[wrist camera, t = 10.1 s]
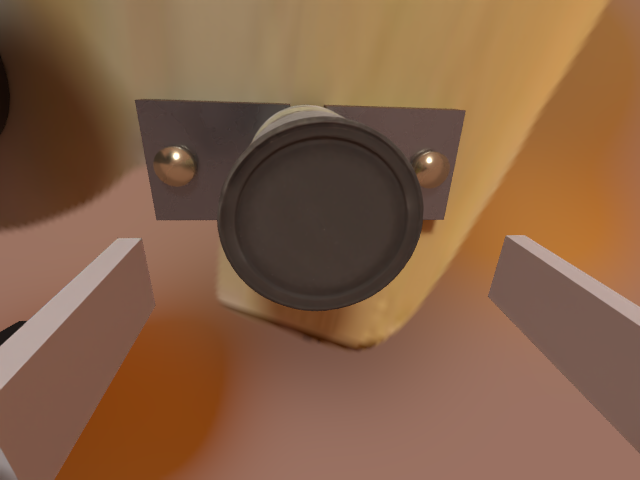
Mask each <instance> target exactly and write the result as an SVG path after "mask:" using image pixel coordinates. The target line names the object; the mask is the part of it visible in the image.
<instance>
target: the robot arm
mask: <svg viewBox="0 0 640 480" xmlns="http://www.w3.org/2000/svg"><path fill="white" fill-rule="evenodd" d="M8 110H9V88H8V81H7V76H6V72H5V69H4V66H3V63H2V60H1V57H0V134H1V132H2V130H3V128H4V125H5V123H6V119H7V115H8ZM488 297H489V298H490V299H491V300H492V301H493V302H494V303H495V304H496V305H497V306H498V307H499V308H500V310H501V311H502V312H503V313H504V314H505V315H506V316H507V317H508V318H509V319H510V320H511V321H512V322H513V323H514V324H515V325H516V326H517V327H518V328H519V329H520V330H521V331H522V332H523V333H524V334H525V335H526V336H527V337H528V338H529V339H530V340H531V342H532V343H533V344H534V345H535V346H536V347H537V348H538V349H539V350H540V351H541V352H542V353H543V354H544V355H545V356H546V357H547V358H548V359H549V360H550V361H551V362H552V363H553V364H554V365H555V366H556V367H557V368H558V369H559V370H560V372H561V373H562V374H563V375H564V376H565V377H566V378H567V379H568V380H569V381H570V382H571V383H572V384H573V385H574V386H575V387H576V388H577V389H578V390H579V391H580V392H581V393H582V394H583V395H584V396H585V397H586V398H587V399H588V400H589V402H590V403H591V404H592V405H593V406H594V407H595V408H596V409H597V410H598V411H599V412H600V413H601V414H602V415H603V416H604V417H605V418H606V419H607V420H608V421H609V422H610V423H611V424H612V425H613V426H614V427H615V428H616V429H617V430H618V431H619V432H620V433H621V435H623V437H624V438H625V439H626V440H627V441H628V442H629V443H630V444H631V445H632V446H633V447H634V448H635V449H636V450H637V451H638V452H639V453H640V307H639V306H637V305H636V304H634V303H632V302H631V301H629V300H628V299H626V298H624V297H623V296H621V295H620V294H618V293H616V292H615V291H613V290H612V289H610V288H608V287H607V286H605V285H603V284H602V283H600V282H599V281H597V280H595V279H594V278H592V277H591V276H589V275H587V274H586V273H584V272H583V271H581V270H579V269H578V268H576V267H575V266H573V265H571V264H570V263H568V262H566V261H565V260H563V259H562V258H560V257H559V256H557V255H555V254H554V253H552V252H551V251H549V250H547V249H546V248H544V247H542V246H541V245H539V244H538V243H536V242H534V241H533V240H531V239H530V238H528V237H526V236H524V235H521V236H519V235H518V236H506V237H505V240H504V244H503V247H502V250H501V254H500V257H499V261H498V264H497V267H496V271H495V275H494V278H493V281H492V284H491V288H490V291H489V295H488ZM154 307H155V301H154V296H153V291H152V286H151V281H150V276H149V271H148V266H147V261H146V257H145V252H144V247H143V242H142V238H117V239H116V240H115V241H114V242H113V243H112V244H111V245H110V246H109V247H108V248H107V249H106V250H104V251H103V252H102V253H101V254H100V255H99V256H98V257H97V258H96V259H95V260H94V261H92V262H91V263H90V264H89V265H88V266H87V267H86V268H85V269H84V270H83V271H82V272H80V273H79V274H78V275H77V276H76V277H75V278H74V279H73V280H72V281H71V282H70V283H68V284H67V285H66V286H65V287H64V288H63V289H62V290H61V291H60V292H59V293H58V294H57V295H56V296H54V297H53V298H52V299H51V300H50V301H49V302H48V303H47V304H46V305H45V306H44V307H42V308H41V309H40V310H39V311H38V312H37V313H36V314H35V315H34V316H33V317H32V318H30V319H29V320H28V321H19V322H17V323H15V324H14V325H12V326H10V327H8V328H6V329H5V330H3V331H1V332H0V480H54V479H55V477H56V475H57V474H58V472H59V470H60V469H61V467H62V465H63V463H64V461H65V460H66V458H67V456H68V455H69V453H70V451H71V450H72V448H73V446H74V445H75V443H76V441H77V439H78V438H79V436H80V434H81V432H82V431H83V429H84V427H85V425H86V424H87V422H88V421H89V419H90V417H91V415H92V414H93V412H94V410H95V409H96V407H97V405H98V403H99V402H100V400H101V398H102V396H103V395H104V393H105V391H106V389H107V388H108V386H109V384H110V383H111V381H112V379H113V378H114V376H115V374H116V372H117V371H118V369H119V367H120V365H121V364H122V362H123V361H124V359H125V357H126V355H127V353H128V352H129V350H130V348H131V347H132V345H133V343H134V342H135V340H136V338H137V336H138V335H139V333H140V331H141V329H142V328H143V326H144V324H145V323H146V321H147V319H148V318H149V316H150V314H151V312H152V311H153V309H154Z"/></svg>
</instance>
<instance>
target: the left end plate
mask: <svg viewBox="0 0 640 480" xmlns="http://www.w3.org/2000/svg"><path fill="white" fill-rule="evenodd" d="M135 103H136V108H137V114H138V120H139V125H140V131H141V136H142V142H143V147H144V153H145V158H146V164H147V169H148V175H149V180H150V186H151V191H152V197H153V203H154V208H155V214H156V219H157V220H217V210H218V202H219V198H220V193H221V189H222V186H223V183H224V181H225V179H226V177H227V175H228V173H229V171H230V169H231V168H232V166H233V164H234V163H235V162H236V160H237V159H238V158H239V157H240V155H241V154H242V153H243V152H244V151H245V150H246V149H247V147H249V146H250V144H251V143H252V141H253V138H254V136H255V134H256V133H257V131H258V130H259V129H260V127H261V126H262V125H263V124H264V123H265V122H266V121H267V120H268V119H269V118H270V117H272V116H273V115H274V114H276V113H277V112H279V111H281V110H284V109H286V108H289V107H290V104H282V103H251V102H220V101H189V100H159V99H140V100H135Z"/></svg>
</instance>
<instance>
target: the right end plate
mask: <svg viewBox="0 0 640 480" xmlns="http://www.w3.org/2000/svg"><path fill="white" fill-rule="evenodd" d="M324 108H326V109H329V110H331V111H333V112H335V113H337V114H338V115H340V116H342V117H344V118H346V119H350V120H354V121H358V122H361V123H363V124H365V125H367V126H369V127H371V128H373V129H375V130H377V131H378V132H380V133H382V134H383V135H385V136H386V137H387V138H389V139H390V140H391V141H392V142H393V143H394V144H395V145H396V146H397V147H398V148H399V149H400V150H401V151H402V152H403V153H404V154H405V156H406V157H407V159H408V160H409V162H410V163H411V165H412V167H413V169H414V171H415V173H416V175H417V178H418V180H419V183H420V187H421V191H422V196H423V204H424V211H423V220H444V216H445V211H446V206H447V201H448V196H449V191H450V186H451V181H452V176H453V171H454V166H455V161H456V156H457V151H458V146H459V141H460V136H461V131H462V126H463V121H464V116H465V110H458V109H436V108H405V107H374V106H343V105H324Z"/></svg>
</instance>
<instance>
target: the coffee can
mask: <svg viewBox="0 0 640 480" xmlns="http://www.w3.org/2000/svg"><path fill="white" fill-rule="evenodd" d="M423 211H424V204H423V196H422V191H421V187H420V183H419V180H418V178H417V175H416V173H415V171H414V169H413V167H412V165H411V163H410V162H409V160H408V159H407V157H406V156H405V154H404V153H403V152H402V151H401V150H400V149H399V148H398V147H397V146H396V145H395V144H394V143H393V142H392V141H391V140H390V139H389V138H387V137H386V136H385V135H383V134H382V133H380V132H378V131H377V130H375V129H373V128H371V127H369V126H367V125H365V124H363V123H361V122H358V121H354V120H350V119H346V118H344V117H342V116H340V115H338V114H337V113H335V112H333V111H331V110H329V109H326V108H323V107H320V106H315V105H298V106H292V107H289V108H286V109H284V110H281V111H279V112H277V113H276V114H274V115H273V116H272V117H270V118H269V119H268V120H267V121H266V122H265V123H264V124H263V125H262V126H261V127H260V129H259V130H258V131H257V133H256V134H255V136H254V138H253V141H252V143H251V144H250V146H249V147H247V149H246V150H245V151H244V152H243V153H242V154H241V155H240V157H239V158H238V159H237V160H236V162H235V163H234V164H233V166H232V168H231V169H230V171H229V173H228V175H227V177H226V179H225V181H224V183H223V186H222V189H221V193H220V198H219V202H218V210H217V224H218V232H219V237H220V241H221V244H222V247H223V250H224V252H225V255H226V257H227V259H228V261H229V262H230V264H231V266H232V267H233V269H234V270H235V272H236V273H237V274H238V276H239V277H240V278H241V279H242V280H243V281H244V282H245V283H246V284H247V285H248V286H249V287H250V288H252V289H253V290H254V291H255V292H257V293H258V294H260V295H261V296H263V297H265V298H267V299H269V300H271V301H273V302H275V303H278V304H280V305H283V306H286V307H290V308H294V309H299V310H306V311H326V310H332V309H339V308H343V307H346V306H350V305H353V304H355V303H358V302H361V301H363V300H365V299H367V298H369V297H371V296H373V295H374V294H376V293H377V292H379V291H381V290H382V289H383V288H384V287H386V286H387V285H388V284H389V283H390V282H391V281H392V280H394V278H395V277H396V276H397V275H398V274H399V273H400V272H401V270H402V269H403V268H404V267H405V265H406V263H407V262H408V261H409V259H410V258H411V256H412V254H413V252H414V250H415V248H416V245H417V243H418V240H419V237H420V233H421V229H422V223H423Z"/></svg>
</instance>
